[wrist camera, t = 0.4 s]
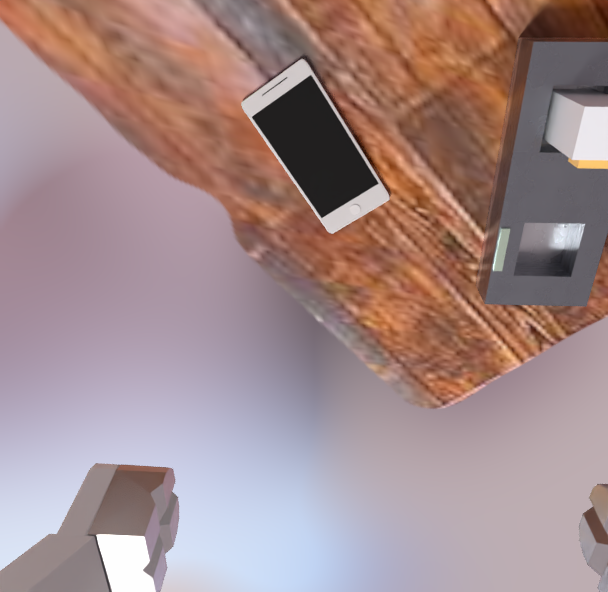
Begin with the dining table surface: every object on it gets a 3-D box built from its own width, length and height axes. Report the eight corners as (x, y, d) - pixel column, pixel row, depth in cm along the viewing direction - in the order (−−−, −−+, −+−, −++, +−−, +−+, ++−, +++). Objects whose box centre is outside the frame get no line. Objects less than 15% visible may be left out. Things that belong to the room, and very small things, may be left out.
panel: (518, 37, 47) (534, 41, 44) (638, 37, 47) (664, 42, 43) (475, 285, 59) (485, 304, 55) (571, 287, 59) (587, 307, 55)
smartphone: (330, 232, 57) (330, 235, 56) (240, 102, 51) (238, 104, 50) (390, 195, 55) (391, 199, 54) (304, 56, 49) (303, 57, 48)
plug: (548, 89, 48) (584, 106, 41) (595, 89, 48) (639, 107, 41) (536, 144, 51) (569, 169, 44) (581, 145, 50) (621, 170, 43)
